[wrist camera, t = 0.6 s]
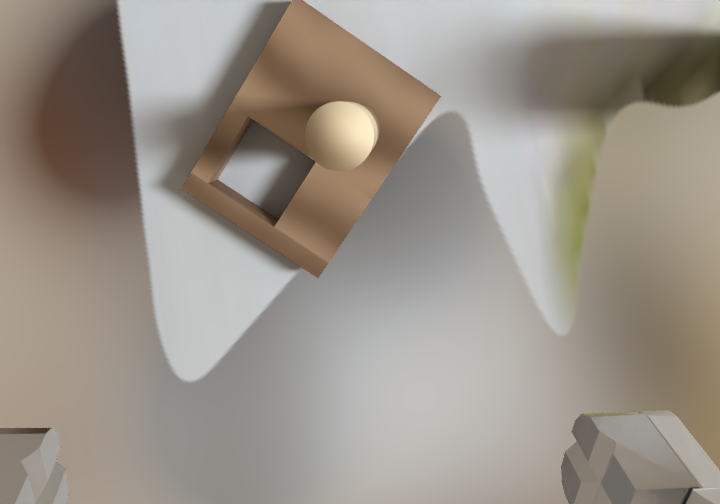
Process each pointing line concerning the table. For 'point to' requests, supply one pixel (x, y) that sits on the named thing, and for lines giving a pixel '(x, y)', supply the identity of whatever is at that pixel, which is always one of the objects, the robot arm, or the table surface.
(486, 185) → the table surface
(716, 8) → the table surface
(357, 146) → the pin
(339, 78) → the pin board
